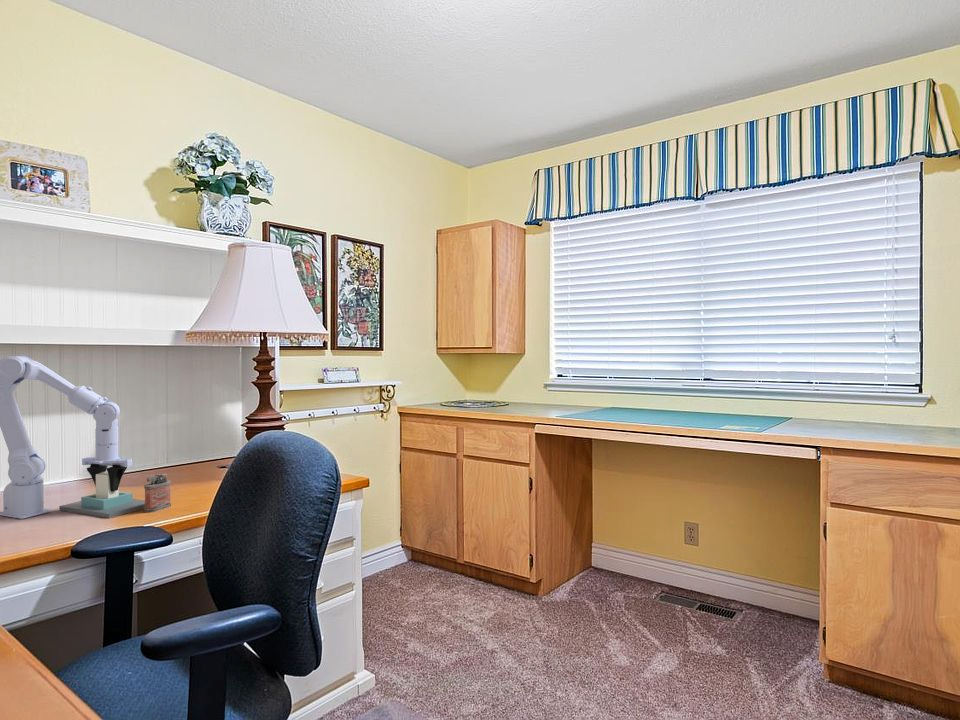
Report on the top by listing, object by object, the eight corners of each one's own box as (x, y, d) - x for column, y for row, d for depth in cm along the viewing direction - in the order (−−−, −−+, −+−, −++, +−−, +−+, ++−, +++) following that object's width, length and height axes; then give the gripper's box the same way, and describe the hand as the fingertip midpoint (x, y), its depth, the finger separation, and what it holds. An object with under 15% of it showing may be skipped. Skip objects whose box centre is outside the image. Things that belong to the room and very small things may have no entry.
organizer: (59, 510, 170) (59, 497, 170) (105, 498, 184) (105, 486, 183) (109, 518, 163) (109, 504, 163) (153, 505, 176) (153, 493, 176)
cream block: (95, 501, 172) (95, 474, 172) (106, 498, 176) (106, 471, 176) (108, 502, 171) (108, 474, 171) (118, 499, 175) (118, 471, 175)
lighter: (165, 504, 177) (165, 471, 177) (173, 506, 176) (173, 472, 176) (141, 511, 170) (141, 476, 170) (149, 513, 169) (149, 477, 169)
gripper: (73, 445, 170) (73, 492, 170) (119, 446, 168) (119, 494, 168) (92, 441, 177) (93, 486, 177) (137, 442, 175) (137, 489, 175)
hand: (107, 490), depth 173 cm, fingers closed on cream block, 4 cm apart
